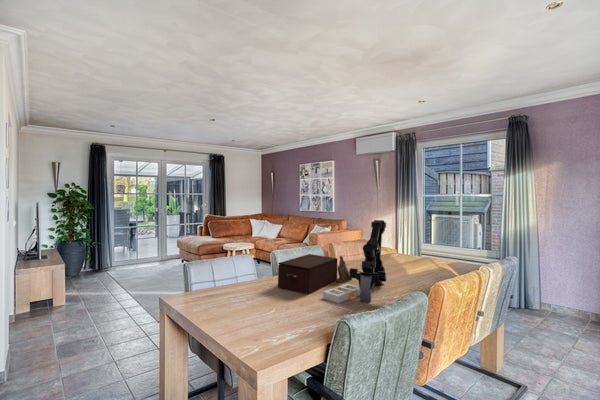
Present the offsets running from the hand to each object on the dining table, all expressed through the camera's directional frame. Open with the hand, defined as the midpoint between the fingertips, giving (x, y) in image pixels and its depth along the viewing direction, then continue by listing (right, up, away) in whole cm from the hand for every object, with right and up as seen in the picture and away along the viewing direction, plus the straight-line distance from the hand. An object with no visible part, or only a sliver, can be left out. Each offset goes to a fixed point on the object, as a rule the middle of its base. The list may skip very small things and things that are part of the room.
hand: (365, 289), depth 165 cm
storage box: (-29, -6, +31) cm, 43 cm away
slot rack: (-10, -6, +9) cm, 15 cm away
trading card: (-18, -7, -17) cm, 26 cm away
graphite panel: (0, -7, +1) cm, 7 cm away
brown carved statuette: (-5, -6, +40) cm, 41 cm away
